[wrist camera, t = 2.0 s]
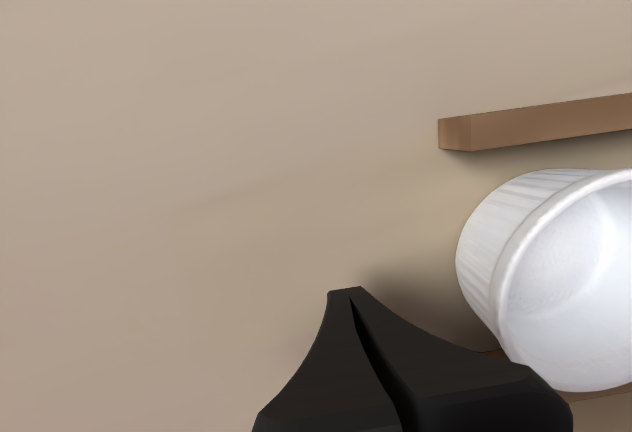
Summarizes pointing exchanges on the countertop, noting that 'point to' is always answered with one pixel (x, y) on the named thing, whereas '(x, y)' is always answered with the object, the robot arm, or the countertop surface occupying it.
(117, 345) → the countertop surface
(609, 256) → the ramekin
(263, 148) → the countertop surface
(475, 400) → the robot arm
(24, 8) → the countertop surface
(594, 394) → the channel
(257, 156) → the countertop surface
